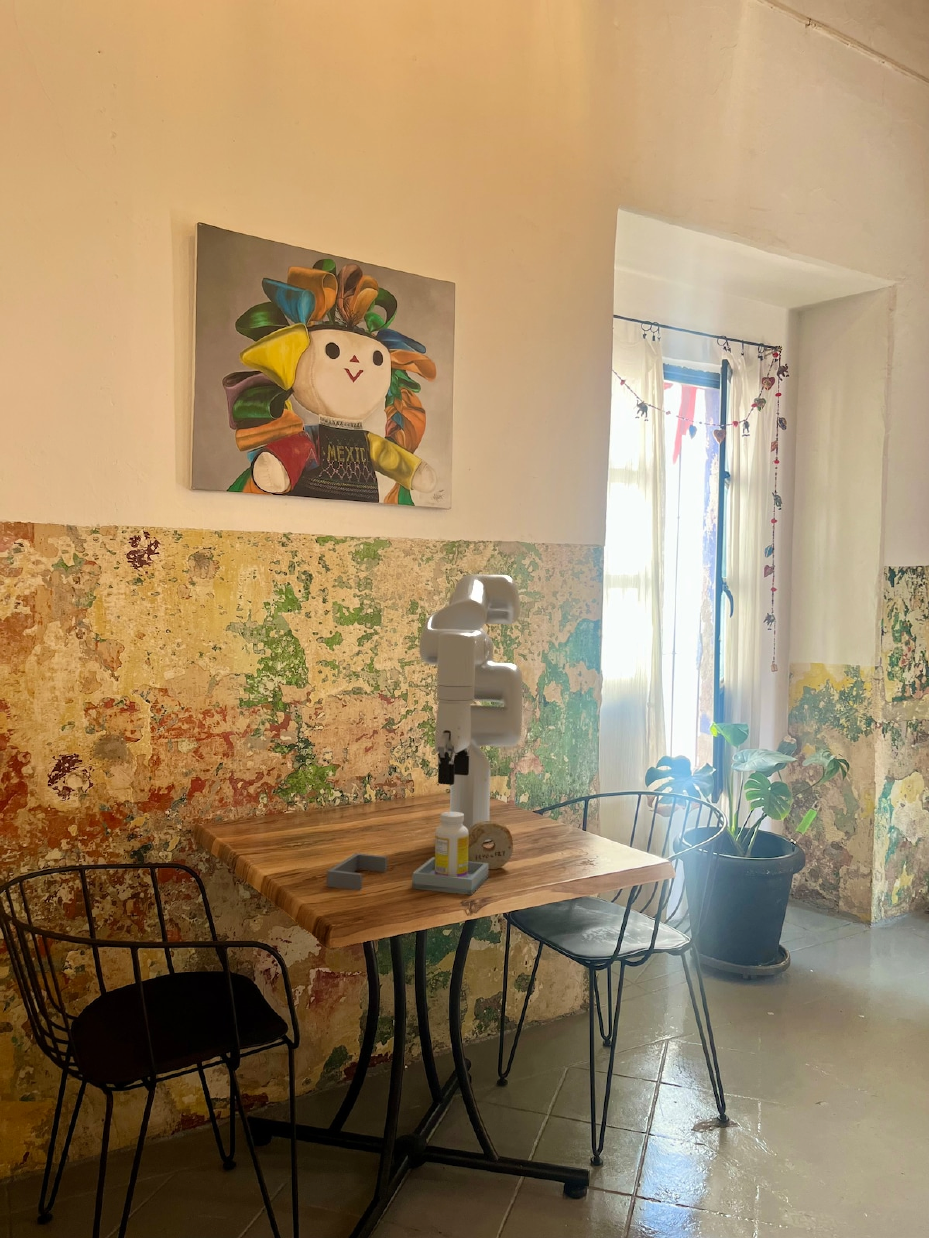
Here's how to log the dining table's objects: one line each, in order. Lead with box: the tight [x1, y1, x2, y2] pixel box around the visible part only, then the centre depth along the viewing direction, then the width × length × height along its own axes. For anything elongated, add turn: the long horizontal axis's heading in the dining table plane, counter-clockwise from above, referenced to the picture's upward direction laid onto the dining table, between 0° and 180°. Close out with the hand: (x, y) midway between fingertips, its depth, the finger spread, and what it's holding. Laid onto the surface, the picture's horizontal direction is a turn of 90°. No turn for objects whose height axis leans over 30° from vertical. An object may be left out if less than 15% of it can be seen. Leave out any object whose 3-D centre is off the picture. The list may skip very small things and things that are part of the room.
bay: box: [326, 852, 388, 891], centre depth 184 cm, size 14×7×3 cm, turn 163°
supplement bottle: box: [434, 811, 469, 878], centre depth 183 cm, size 7×7×13 cm
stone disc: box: [468, 820, 514, 870], centre depth 194 cm, size 10×4×10 cm, turn 94°
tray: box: [411, 856, 489, 896], centre depth 183 cm, size 12×12×3 cm
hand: (453, 779), depth 183 cm, fingers open, 9 cm apart
